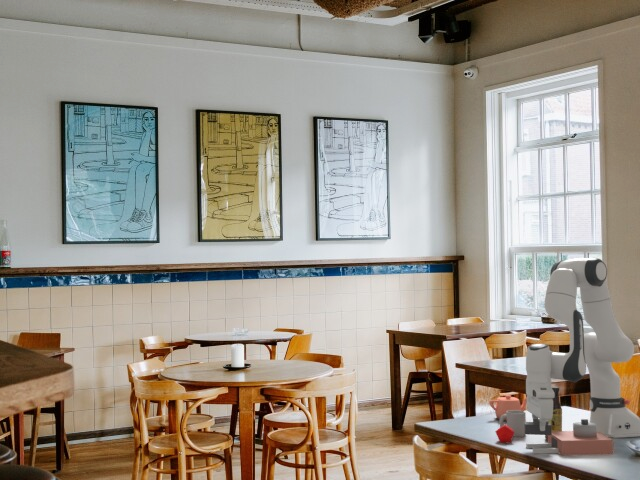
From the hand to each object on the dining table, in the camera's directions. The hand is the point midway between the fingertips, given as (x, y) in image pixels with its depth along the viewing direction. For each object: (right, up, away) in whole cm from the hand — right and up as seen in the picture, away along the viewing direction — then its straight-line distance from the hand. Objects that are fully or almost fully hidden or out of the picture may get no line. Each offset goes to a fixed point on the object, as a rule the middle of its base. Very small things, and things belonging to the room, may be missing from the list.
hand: (539, 428), depth 292 cm
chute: (-1, -2, 0) cm, 2 cm away
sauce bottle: (+10, -8, +17) cm, 21 cm away
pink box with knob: (+10, -8, 0) cm, 13 cm away
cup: (-3, -9, +27) cm, 28 cm away
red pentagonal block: (-9, -9, +15) cm, 19 cm away
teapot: (+3, -10, +59) cm, 60 cm away
